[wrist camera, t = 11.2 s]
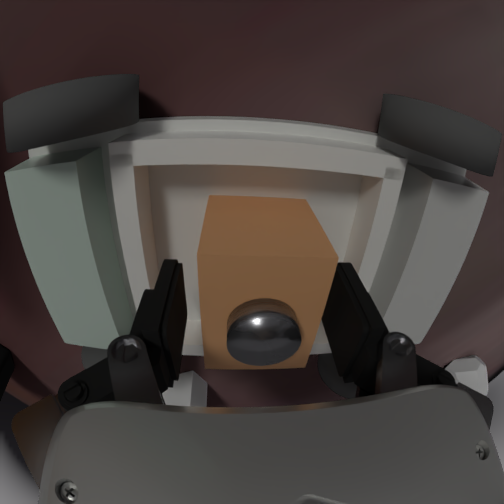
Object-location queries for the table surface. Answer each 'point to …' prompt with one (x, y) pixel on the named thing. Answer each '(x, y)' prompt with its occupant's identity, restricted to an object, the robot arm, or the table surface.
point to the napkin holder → (187, 391)
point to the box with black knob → (261, 281)
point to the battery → (5, 368)
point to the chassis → (234, 184)
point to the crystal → (470, 373)
